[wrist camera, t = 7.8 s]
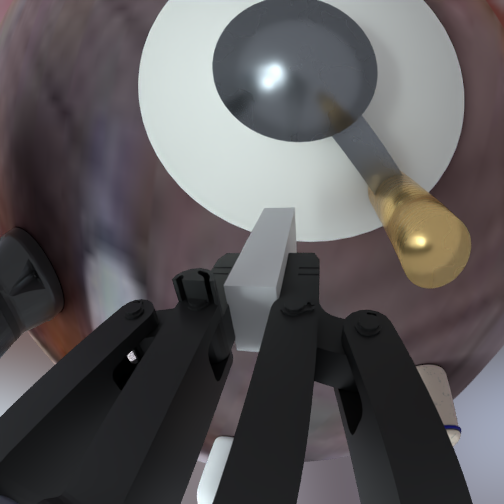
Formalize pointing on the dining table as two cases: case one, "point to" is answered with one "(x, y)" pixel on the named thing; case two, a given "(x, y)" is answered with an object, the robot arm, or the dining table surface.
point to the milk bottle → (214, 470)
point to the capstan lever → (333, 117)
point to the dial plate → (298, 153)
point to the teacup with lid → (441, 398)
